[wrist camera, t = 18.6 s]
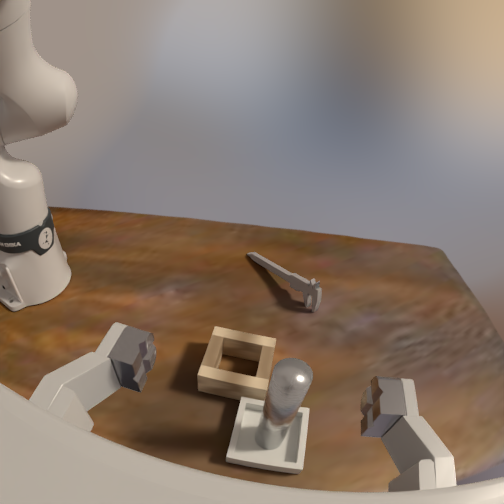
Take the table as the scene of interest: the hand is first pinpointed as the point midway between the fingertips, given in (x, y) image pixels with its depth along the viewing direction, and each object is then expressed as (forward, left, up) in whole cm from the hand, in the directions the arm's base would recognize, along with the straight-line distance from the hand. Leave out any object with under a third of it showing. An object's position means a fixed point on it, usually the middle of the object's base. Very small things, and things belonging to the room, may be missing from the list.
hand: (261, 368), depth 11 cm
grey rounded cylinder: (+3, +10, -29) cm, 31 cm away
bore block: (-3, +20, -30) cm, 36 cm away
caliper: (0, +43, -30) cm, 53 cm away
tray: (+3, +11, -30) cm, 32 cm away
